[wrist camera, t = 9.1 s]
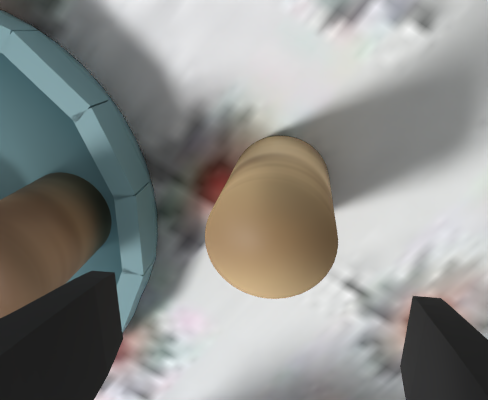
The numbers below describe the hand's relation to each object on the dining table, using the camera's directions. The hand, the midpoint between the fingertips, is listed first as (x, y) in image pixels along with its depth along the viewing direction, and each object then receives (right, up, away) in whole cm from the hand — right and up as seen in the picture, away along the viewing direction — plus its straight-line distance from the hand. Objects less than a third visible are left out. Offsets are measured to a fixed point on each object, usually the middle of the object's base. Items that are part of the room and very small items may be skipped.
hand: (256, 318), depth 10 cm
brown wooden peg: (-9, +2, +11) cm, 14 cm away
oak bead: (+1, +4, +9) cm, 10 cm away
